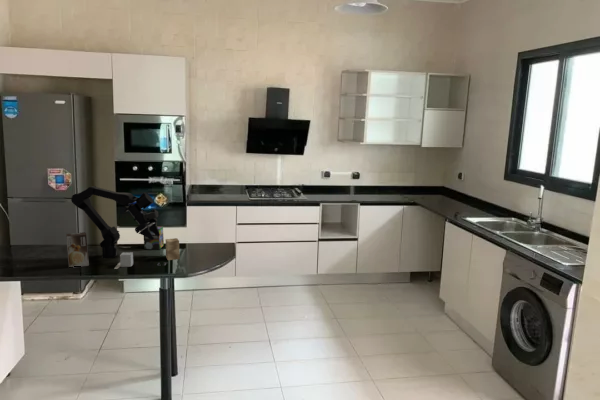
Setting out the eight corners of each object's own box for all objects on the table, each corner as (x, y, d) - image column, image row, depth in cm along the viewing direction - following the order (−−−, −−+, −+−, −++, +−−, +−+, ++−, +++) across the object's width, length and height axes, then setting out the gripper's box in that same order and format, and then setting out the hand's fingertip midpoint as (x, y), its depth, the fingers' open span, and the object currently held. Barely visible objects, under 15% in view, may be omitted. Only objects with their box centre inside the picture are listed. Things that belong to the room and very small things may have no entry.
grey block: (120, 266, 236) (120, 255, 235) (122, 264, 241) (122, 252, 240) (131, 266, 236) (130, 255, 235) (133, 263, 241) (132, 252, 240)
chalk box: (164, 245, 279) (163, 220, 277) (160, 249, 270) (159, 224, 268) (148, 245, 279) (147, 220, 277) (143, 249, 270) (142, 224, 268)
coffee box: (88, 262, 243) (86, 231, 241) (89, 265, 238) (87, 234, 235) (68, 264, 239) (66, 233, 237) (68, 268, 234) (66, 236, 231)
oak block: (167, 260, 248) (167, 241, 247) (166, 257, 254) (165, 239, 252) (179, 259, 251) (179, 240, 249) (177, 256, 256) (177, 238, 255)
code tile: (147, 268, 235) (147, 267, 235) (152, 261, 247) (152, 260, 247) (172, 267, 236) (172, 267, 236) (175, 261, 248) (175, 260, 248)
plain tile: (113, 269, 233) (113, 268, 233) (119, 263, 243) (119, 262, 243) (135, 268, 234) (135, 268, 234) (139, 262, 244) (139, 262, 244)
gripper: (143, 207, 240) (162, 232, 241) (156, 202, 258) (173, 225, 260) (126, 220, 241) (145, 245, 243) (140, 214, 260) (157, 237, 261)
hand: (156, 237), depth 252 cm, fingers open, 9 cm apart
